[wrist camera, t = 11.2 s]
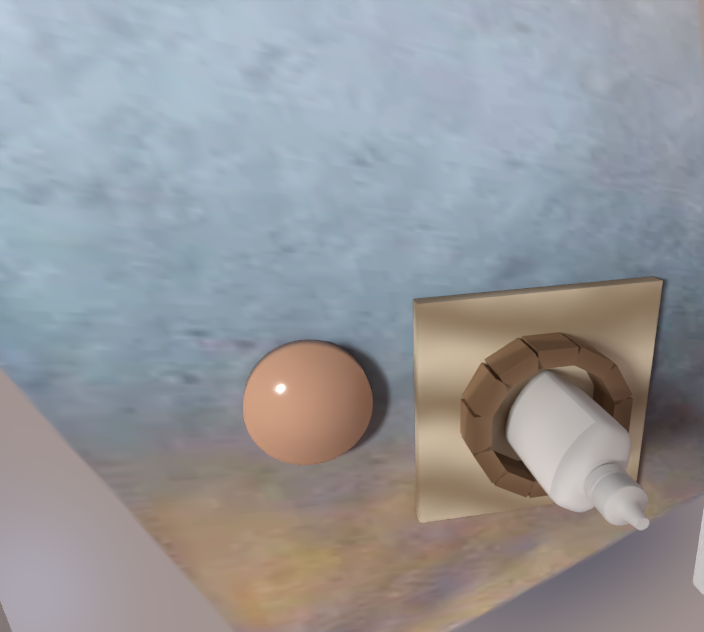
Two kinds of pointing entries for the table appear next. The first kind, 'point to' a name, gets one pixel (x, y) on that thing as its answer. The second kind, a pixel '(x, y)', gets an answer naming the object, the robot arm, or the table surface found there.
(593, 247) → the table surface
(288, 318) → the table surface
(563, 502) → the eye dropper bottle
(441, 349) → the ring collar
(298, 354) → the peach domed part
